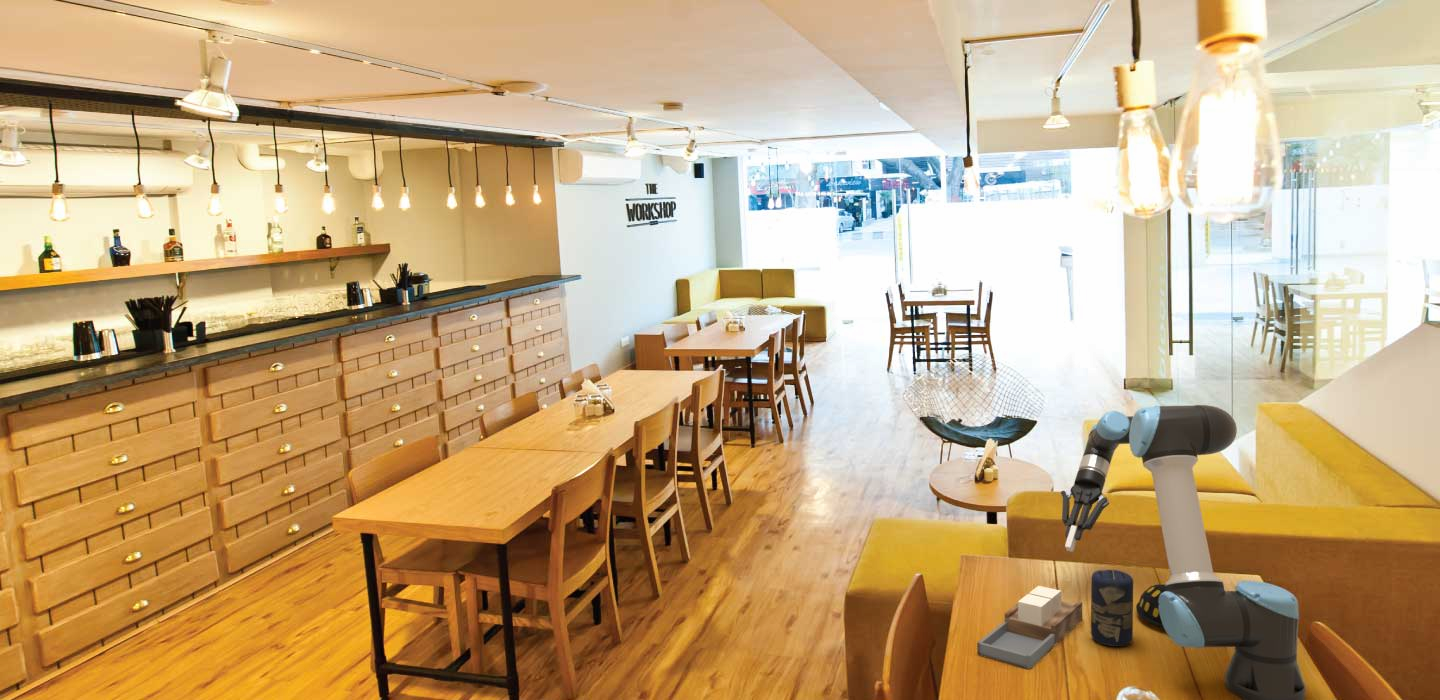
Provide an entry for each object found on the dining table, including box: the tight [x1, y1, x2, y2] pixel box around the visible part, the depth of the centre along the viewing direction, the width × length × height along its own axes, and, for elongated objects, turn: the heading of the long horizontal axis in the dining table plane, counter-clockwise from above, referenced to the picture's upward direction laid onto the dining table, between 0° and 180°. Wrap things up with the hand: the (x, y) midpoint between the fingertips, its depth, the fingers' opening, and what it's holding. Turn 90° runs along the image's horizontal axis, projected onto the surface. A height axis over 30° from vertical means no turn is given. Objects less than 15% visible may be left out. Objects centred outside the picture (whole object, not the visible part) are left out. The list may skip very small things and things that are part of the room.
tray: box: [976, 621, 1056, 670], centre depth 228 cm, size 15×13×3 cm
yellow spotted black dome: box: [1135, 582, 1167, 629], centre depth 239 cm, size 16×9×20 cm
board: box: [1004, 600, 1083, 645], centre depth 240 cm, size 18×13×5 cm
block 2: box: [1028, 585, 1062, 617], centre depth 240 cm, size 6×6×5 cm
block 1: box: [1017, 593, 1051, 626], centre depth 235 cm, size 6×6×5 cm
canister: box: [1090, 569, 1134, 647], centre depth 229 cm, size 10×10×18 cm
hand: (1068, 549), depth 251 cm, fingers closed
